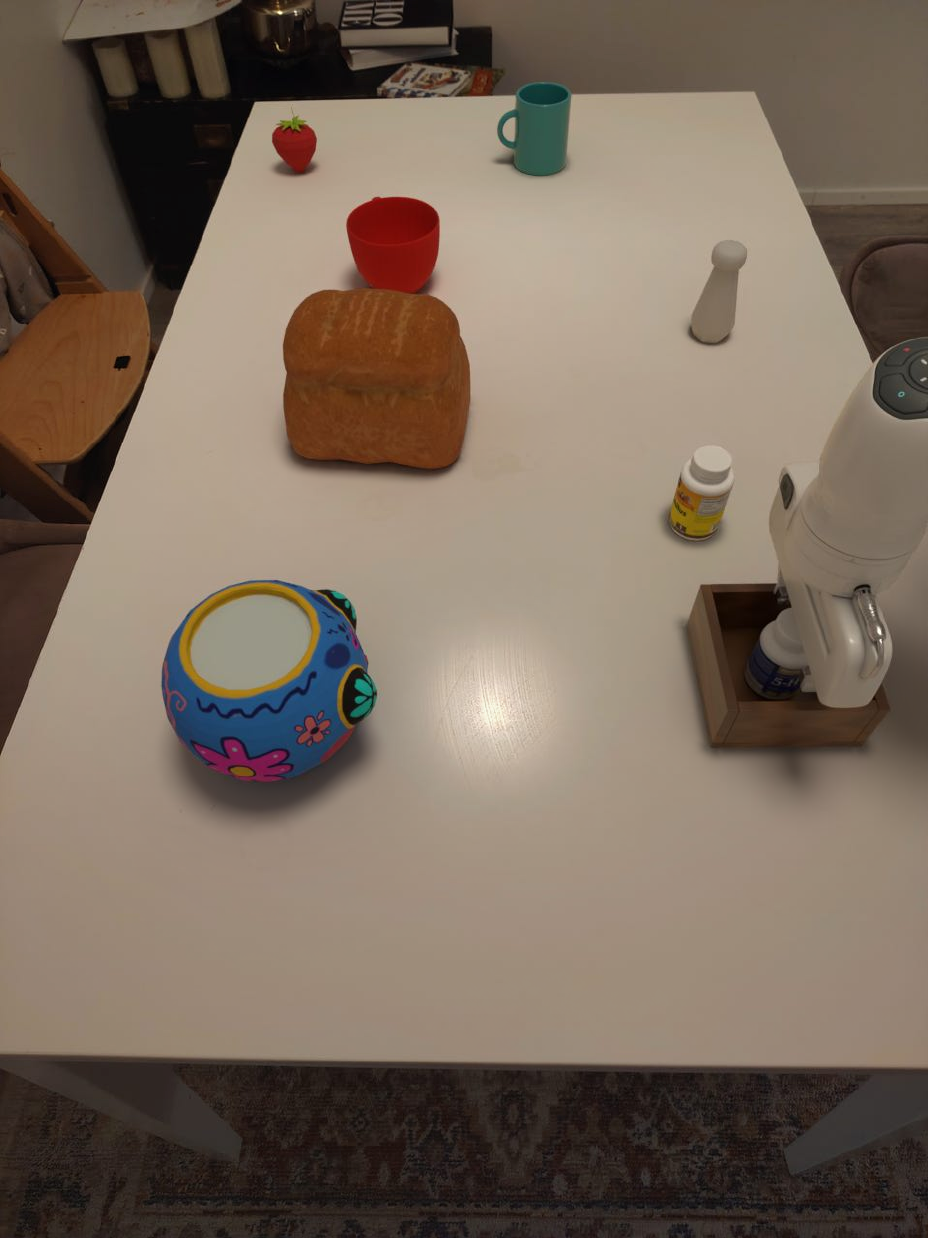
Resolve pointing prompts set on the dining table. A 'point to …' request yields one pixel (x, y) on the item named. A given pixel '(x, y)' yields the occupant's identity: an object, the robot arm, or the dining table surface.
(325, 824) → the dining table surface
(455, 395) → the bread
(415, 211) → the ceramic cup
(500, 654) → the dining table surface
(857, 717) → the box
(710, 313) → the salt shaker
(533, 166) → the cup
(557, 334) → the dining table surface
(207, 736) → the ceramic pot
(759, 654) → the pill bottle
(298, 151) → the strawberry
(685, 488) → the supplement bottle
